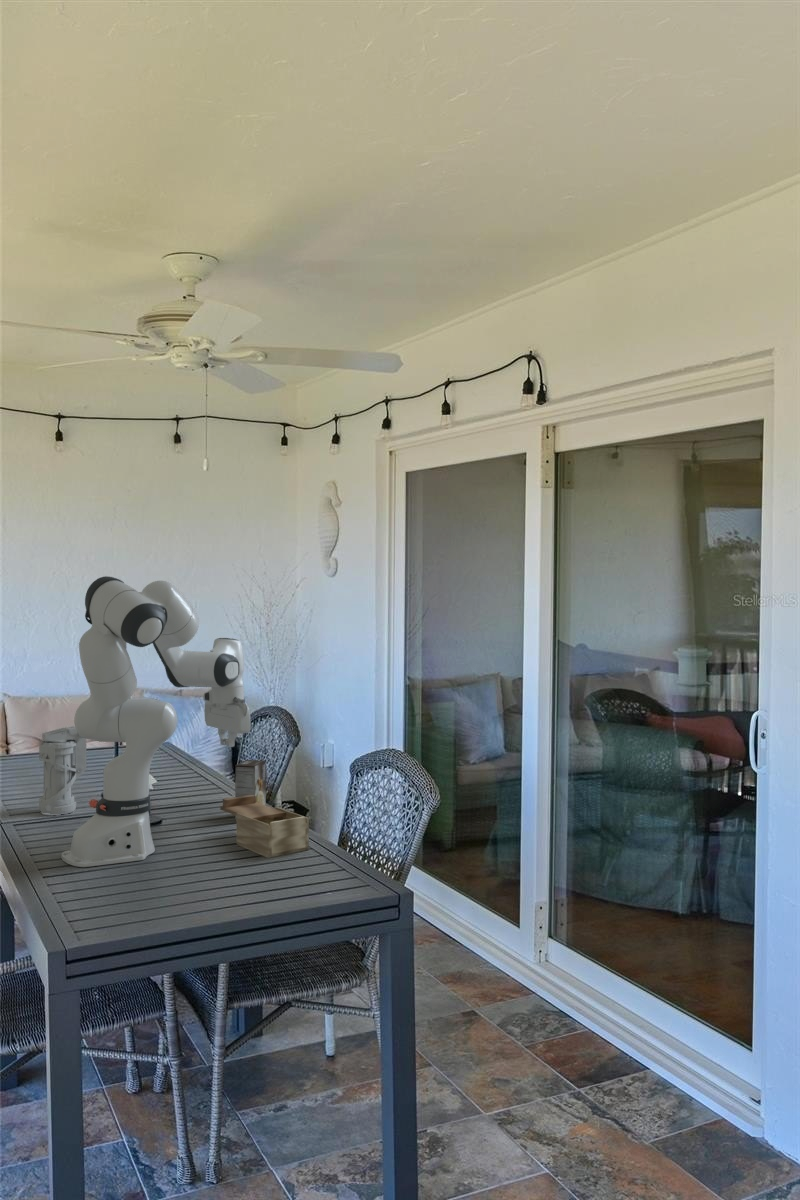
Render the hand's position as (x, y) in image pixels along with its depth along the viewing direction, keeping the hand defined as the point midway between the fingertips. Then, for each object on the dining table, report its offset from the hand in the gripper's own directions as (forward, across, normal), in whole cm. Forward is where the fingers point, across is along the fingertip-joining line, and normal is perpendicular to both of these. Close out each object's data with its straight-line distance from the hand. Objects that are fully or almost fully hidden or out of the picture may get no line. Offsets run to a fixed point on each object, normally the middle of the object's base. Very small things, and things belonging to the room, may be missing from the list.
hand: (227, 745), depth 272 cm
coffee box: (+23, +8, -12) cm, 27 cm away
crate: (+23, -24, 0) cm, 33 cm away
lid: (+16, -14, 0) cm, 21 cm away
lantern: (+23, +48, +29) cm, 61 cm away
